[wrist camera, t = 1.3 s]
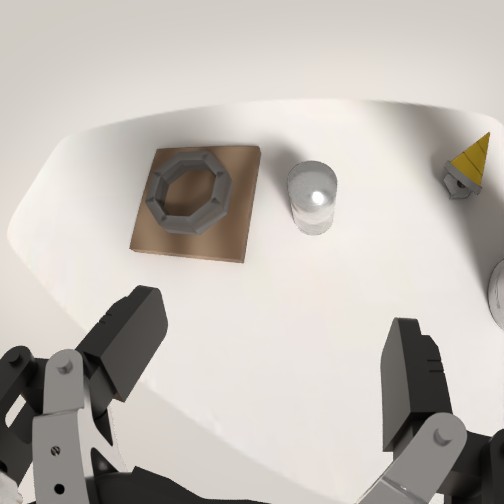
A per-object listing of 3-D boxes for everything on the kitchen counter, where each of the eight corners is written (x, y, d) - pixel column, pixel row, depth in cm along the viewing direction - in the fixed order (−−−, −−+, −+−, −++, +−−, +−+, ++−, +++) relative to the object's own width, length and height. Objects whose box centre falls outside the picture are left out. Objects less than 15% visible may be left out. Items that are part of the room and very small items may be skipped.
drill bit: (425, 179, 33) (463, 113, 27) (453, 197, 34) (490, 136, 28) (444, 200, 29) (488, 126, 23) (472, 219, 30) (514, 152, 24)
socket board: (261, 153, 38) (255, 134, 34) (243, 263, 34) (234, 253, 30) (161, 154, 41) (148, 139, 37) (135, 251, 37) (118, 242, 34)
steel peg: (334, 199, 34) (337, 162, 27) (332, 237, 33) (336, 206, 25) (295, 197, 35) (289, 159, 28) (291, 233, 34) (284, 202, 26)
